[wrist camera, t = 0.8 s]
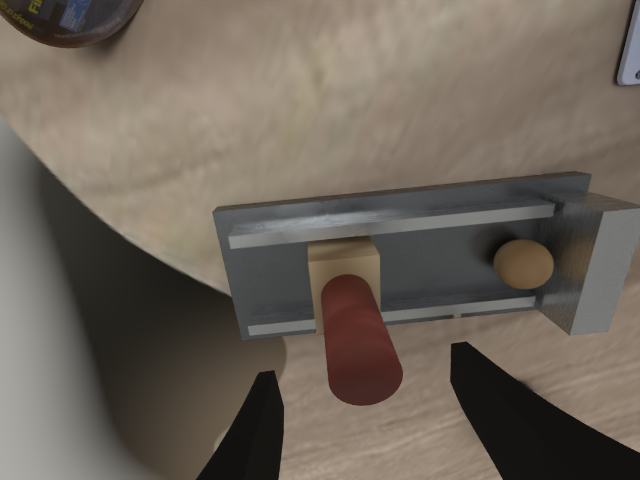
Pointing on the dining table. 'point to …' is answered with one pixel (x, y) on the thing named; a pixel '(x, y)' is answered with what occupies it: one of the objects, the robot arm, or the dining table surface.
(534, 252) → the nut
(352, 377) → the press slider
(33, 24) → the tin
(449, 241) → the base
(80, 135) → the dining table surface
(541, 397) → the robot arm
